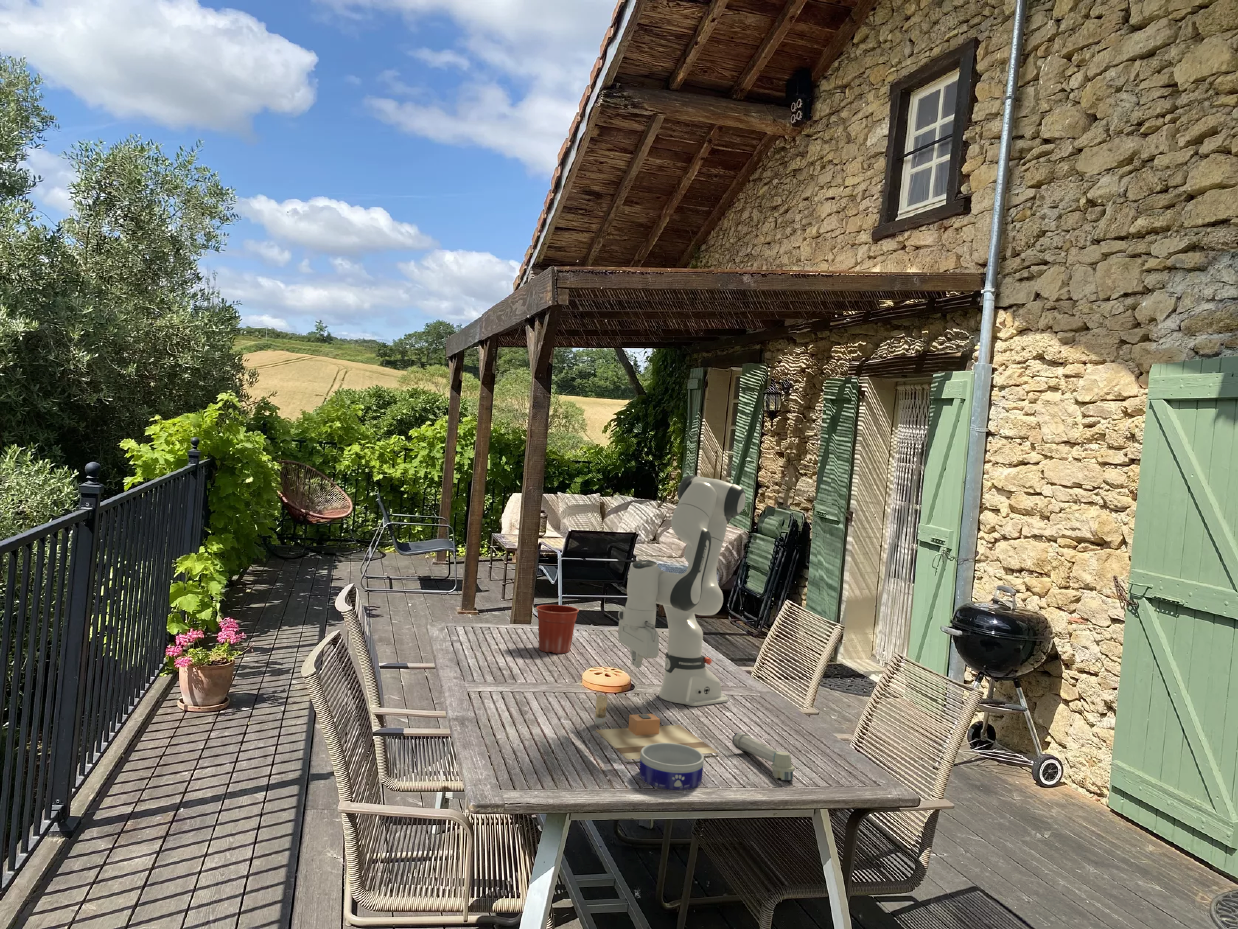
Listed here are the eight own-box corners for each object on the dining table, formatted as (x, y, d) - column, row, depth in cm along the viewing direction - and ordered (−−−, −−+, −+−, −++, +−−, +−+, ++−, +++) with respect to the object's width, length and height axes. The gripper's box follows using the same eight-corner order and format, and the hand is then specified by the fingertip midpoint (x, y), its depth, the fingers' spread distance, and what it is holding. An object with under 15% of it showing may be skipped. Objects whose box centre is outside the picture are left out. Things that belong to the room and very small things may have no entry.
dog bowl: (655, 793, 191) (658, 767, 191) (628, 768, 205) (630, 744, 205) (713, 788, 197) (715, 762, 197) (683, 764, 211) (685, 740, 211)
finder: (651, 728, 233) (652, 712, 233) (658, 734, 229) (660, 718, 229) (628, 729, 231) (629, 713, 231) (635, 735, 226) (637, 719, 226)
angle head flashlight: (747, 731, 229) (799, 751, 206) (746, 756, 228) (799, 779, 205) (729, 732, 227) (780, 752, 204) (729, 757, 227) (780, 781, 203)
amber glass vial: (602, 727, 235) (604, 695, 235) (606, 730, 232) (609, 698, 232) (592, 727, 233) (595, 695, 233) (596, 731, 231) (599, 698, 231)
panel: (679, 729, 238) (679, 725, 238) (718, 757, 218) (718, 752, 218) (594, 734, 228) (595, 730, 228) (627, 764, 208) (627, 759, 208)
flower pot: (538, 643, 330) (541, 602, 330) (579, 647, 328) (582, 607, 328) (528, 652, 314) (531, 609, 314) (571, 657, 312) (574, 614, 312)
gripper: (666, 625, 228) (662, 676, 229) (635, 610, 247) (631, 657, 247) (645, 626, 226) (641, 676, 226) (616, 610, 245) (612, 657, 245)
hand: (636, 666), depth 237 cm, fingers closed
